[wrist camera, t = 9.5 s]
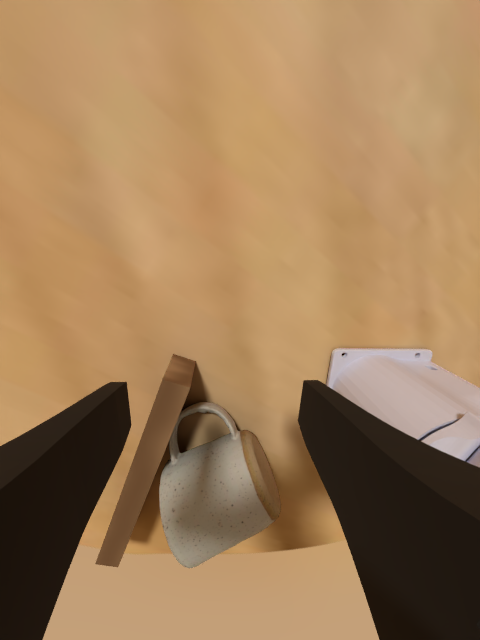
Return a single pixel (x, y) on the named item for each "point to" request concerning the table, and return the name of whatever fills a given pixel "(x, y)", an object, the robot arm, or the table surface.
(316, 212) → the table surface
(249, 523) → the ceramic mug
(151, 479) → the rail
